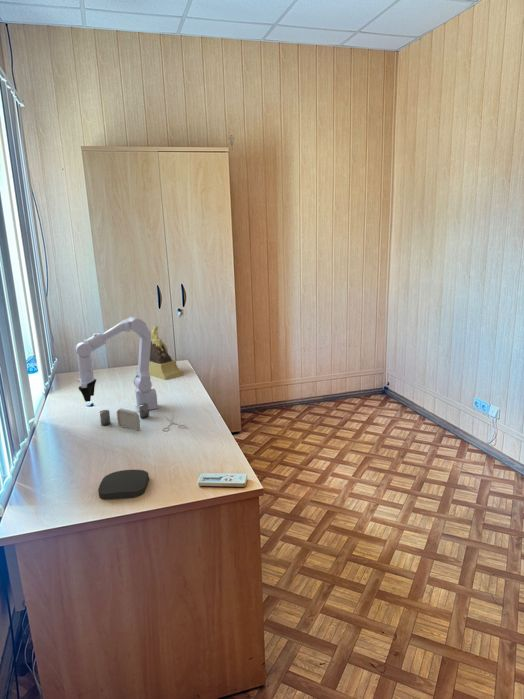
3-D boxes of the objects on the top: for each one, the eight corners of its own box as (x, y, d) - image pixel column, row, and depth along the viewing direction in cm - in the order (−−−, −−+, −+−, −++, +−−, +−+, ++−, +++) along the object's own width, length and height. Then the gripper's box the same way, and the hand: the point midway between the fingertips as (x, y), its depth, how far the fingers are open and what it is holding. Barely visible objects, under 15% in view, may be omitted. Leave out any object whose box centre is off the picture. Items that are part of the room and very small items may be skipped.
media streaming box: (143, 498, 147) (142, 489, 146) (96, 501, 146) (94, 493, 145) (150, 475, 161) (150, 467, 160) (107, 478, 160) (106, 470, 159)
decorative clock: (183, 375, 279) (179, 325, 272) (165, 380, 270) (161, 329, 263) (156, 367, 298) (152, 321, 292) (138, 372, 289) (134, 324, 283)
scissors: (163, 432, 195) (157, 416, 214) (163, 434, 196) (157, 417, 214) (188, 428, 199) (180, 412, 217) (188, 430, 199) (180, 414, 217)
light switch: (137, 431, 199) (135, 413, 197) (118, 425, 205) (116, 408, 203) (140, 429, 200) (138, 412, 198) (121, 424, 206) (119, 407, 205)
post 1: (110, 422, 210) (108, 409, 208) (111, 425, 206) (109, 412, 205) (100, 423, 208) (99, 410, 207) (101, 426, 205) (100, 413, 203)
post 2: (148, 415, 217) (147, 402, 215) (150, 417, 213) (148, 405, 212) (139, 416, 215) (138, 404, 214) (141, 419, 211) (139, 406, 210)
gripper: (80, 365, 215) (83, 394, 218) (72, 374, 201) (76, 404, 204) (96, 364, 216) (99, 392, 219) (89, 373, 202) (93, 403, 205)
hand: (89, 398), depth 212 cm, fingers open, 7 cm apart
